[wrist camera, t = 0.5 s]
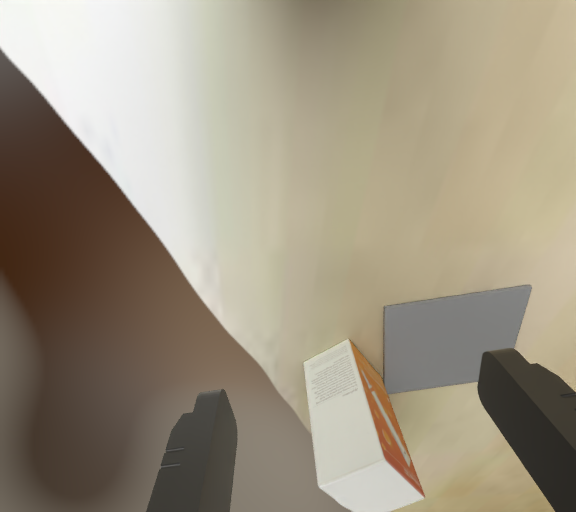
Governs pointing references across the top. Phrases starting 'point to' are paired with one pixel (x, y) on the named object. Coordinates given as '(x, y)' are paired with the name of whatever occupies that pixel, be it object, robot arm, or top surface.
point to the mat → (448, 337)
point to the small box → (357, 434)
